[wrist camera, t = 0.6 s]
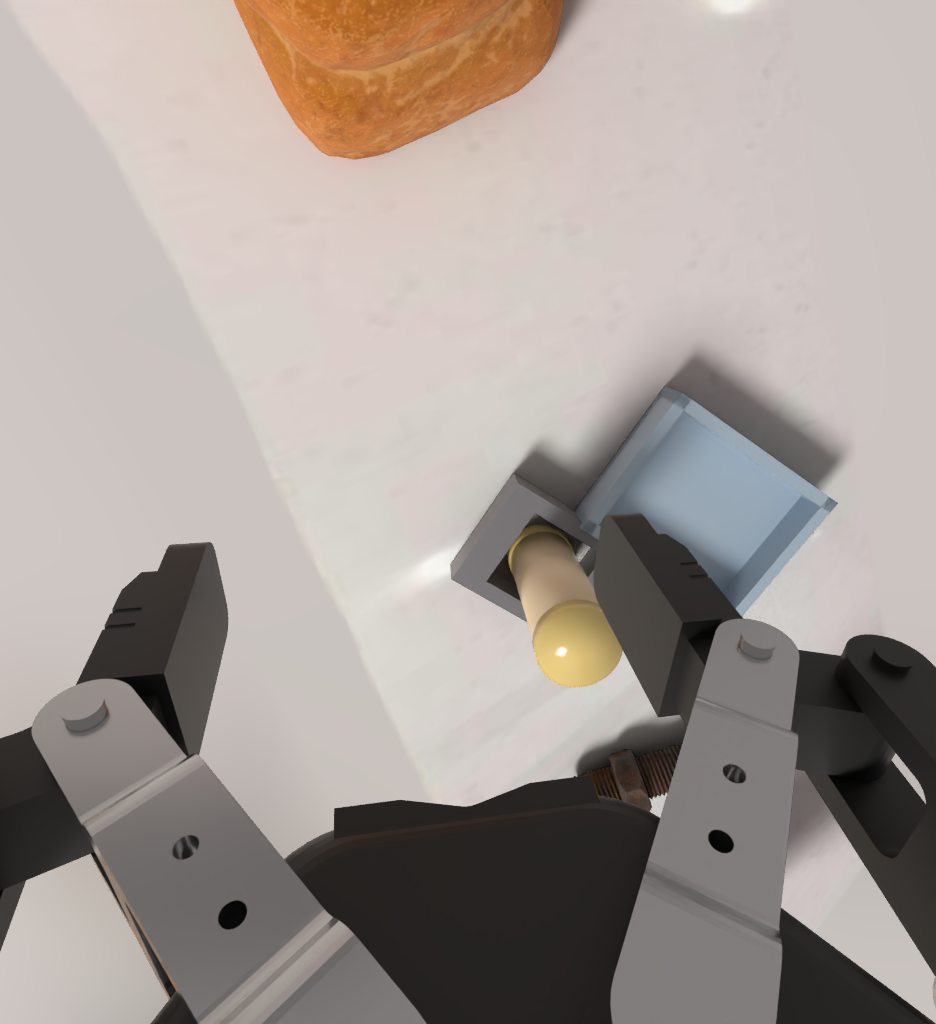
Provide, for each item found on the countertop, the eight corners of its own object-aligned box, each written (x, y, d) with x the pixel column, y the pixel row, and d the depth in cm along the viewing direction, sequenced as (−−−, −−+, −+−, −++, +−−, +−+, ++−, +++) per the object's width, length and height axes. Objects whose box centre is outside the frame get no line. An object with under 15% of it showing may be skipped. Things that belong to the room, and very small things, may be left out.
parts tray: (812, 490, 45) (837, 503, 42) (717, 604, 48) (735, 624, 45) (664, 385, 42) (681, 392, 39) (571, 514, 45) (581, 529, 42)
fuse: (583, 544, 46) (640, 636, 33) (546, 594, 47) (588, 700, 34) (531, 512, 45) (569, 594, 32) (494, 564, 46) (518, 662, 33)
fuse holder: (627, 544, 46) (638, 557, 43) (563, 629, 48) (570, 646, 45) (513, 472, 44) (517, 482, 41) (450, 564, 46) (451, 579, 43)
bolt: (564, 758, 54) (738, 704, 53) (585, 819, 53) (762, 766, 52) (564, 775, 48) (759, 715, 47) (587, 844, 47) (787, 785, 46)
